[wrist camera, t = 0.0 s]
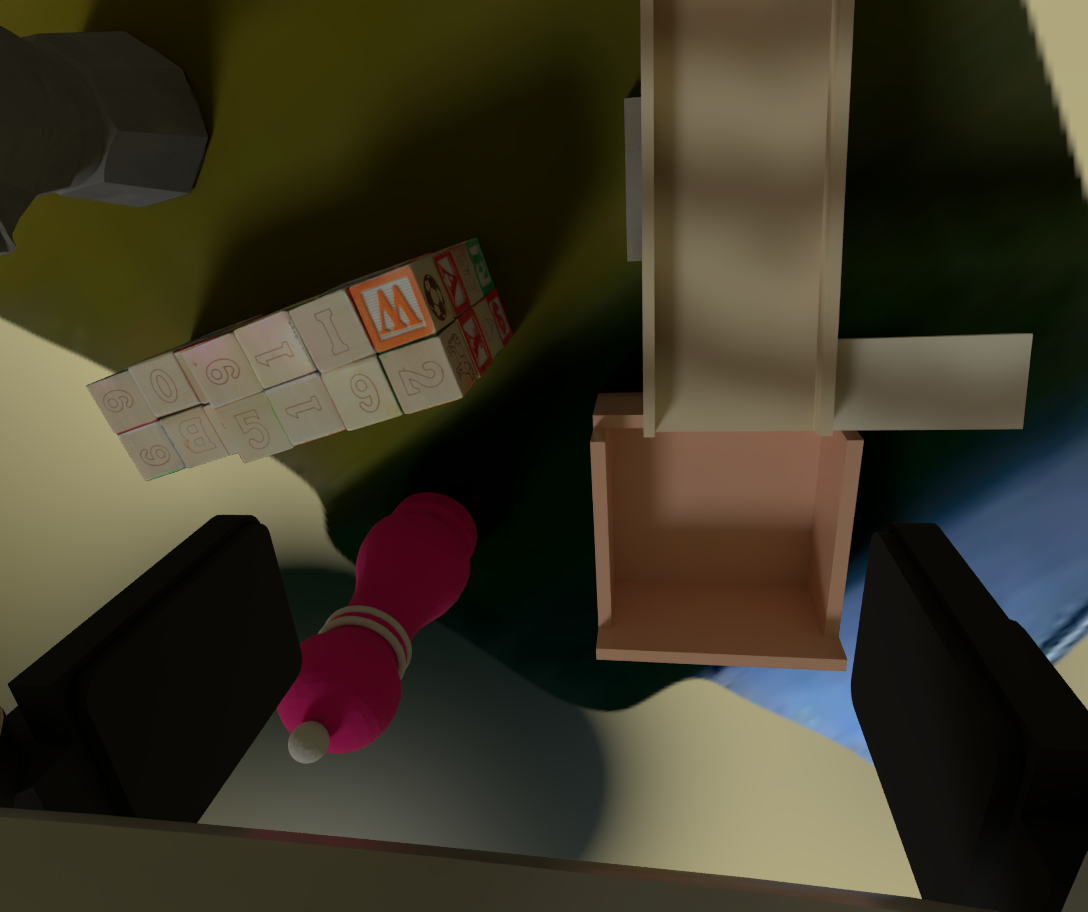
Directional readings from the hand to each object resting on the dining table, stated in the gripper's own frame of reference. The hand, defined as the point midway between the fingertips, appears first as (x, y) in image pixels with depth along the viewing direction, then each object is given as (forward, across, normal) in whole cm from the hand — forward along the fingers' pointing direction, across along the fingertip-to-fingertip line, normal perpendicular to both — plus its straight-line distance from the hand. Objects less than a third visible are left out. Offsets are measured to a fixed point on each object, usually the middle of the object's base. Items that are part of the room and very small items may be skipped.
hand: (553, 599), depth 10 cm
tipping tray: (+26, -9, -5) cm, 28 cm away
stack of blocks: (+32, +18, +3) cm, 37 cm away
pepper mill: (+31, +14, +17) cm, 38 cm away
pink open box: (+31, -5, +14) cm, 35 cm away
